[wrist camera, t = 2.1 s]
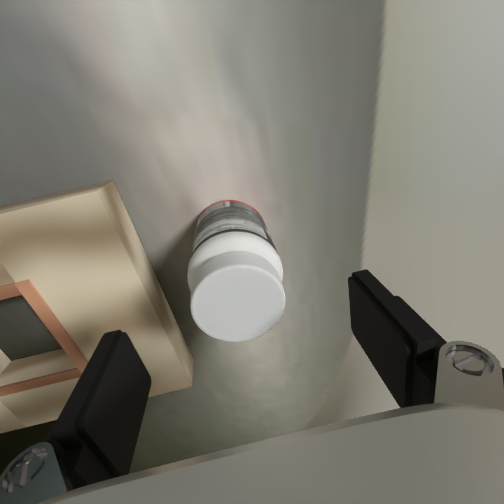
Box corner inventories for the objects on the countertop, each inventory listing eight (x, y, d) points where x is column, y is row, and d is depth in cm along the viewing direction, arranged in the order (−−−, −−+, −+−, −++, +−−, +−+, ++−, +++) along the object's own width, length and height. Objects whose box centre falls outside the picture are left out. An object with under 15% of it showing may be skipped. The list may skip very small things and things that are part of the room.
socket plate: (-217, 259, 16) (-289, 283, 14) (112, 180, 16) (95, 191, 14) (-32, 416, 24) (-59, 449, 21) (194, 361, 24) (191, 388, 22)
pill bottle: (256, 265, 20) (279, 353, 13) (191, 256, 19) (176, 346, 12) (272, 204, 18) (310, 267, 11) (200, 191, 17) (189, 250, 10)
